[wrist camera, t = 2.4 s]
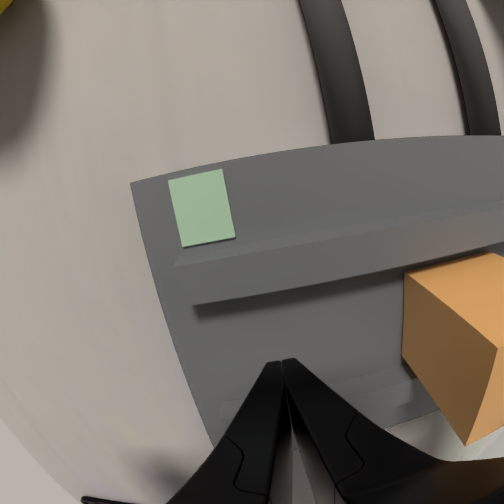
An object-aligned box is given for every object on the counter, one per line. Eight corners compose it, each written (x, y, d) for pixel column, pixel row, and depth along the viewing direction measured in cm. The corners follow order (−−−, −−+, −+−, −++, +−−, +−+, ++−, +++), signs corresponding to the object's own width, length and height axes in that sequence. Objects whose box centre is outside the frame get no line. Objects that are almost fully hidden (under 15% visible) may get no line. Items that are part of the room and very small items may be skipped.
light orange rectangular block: (480, 327, 10) (552, 392, 6) (401, 355, 11) (464, 446, 6) (488, 250, 10) (582, 299, 5) (404, 271, 10) (498, 348, 5)
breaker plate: (540, 337, 13) (562, 355, 10) (220, 436, 14) (217, 475, 11) (555, 139, 10) (587, 141, 7) (145, 180, 10) (117, 185, 8)
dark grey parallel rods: (488, 152, 10) (509, 153, 9) (331, 166, 10) (343, 166, 9) (419, -64, 7) (431, -77, 6) (267, -80, 7) (269, -99, 6)
